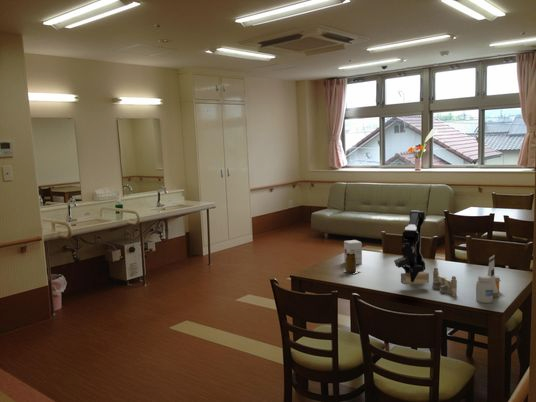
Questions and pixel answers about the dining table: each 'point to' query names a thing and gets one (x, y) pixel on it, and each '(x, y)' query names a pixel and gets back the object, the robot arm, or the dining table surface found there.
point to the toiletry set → (487, 285)
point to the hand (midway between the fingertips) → (410, 280)
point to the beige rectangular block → (420, 278)
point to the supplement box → (353, 250)
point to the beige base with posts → (444, 283)
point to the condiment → (350, 263)
